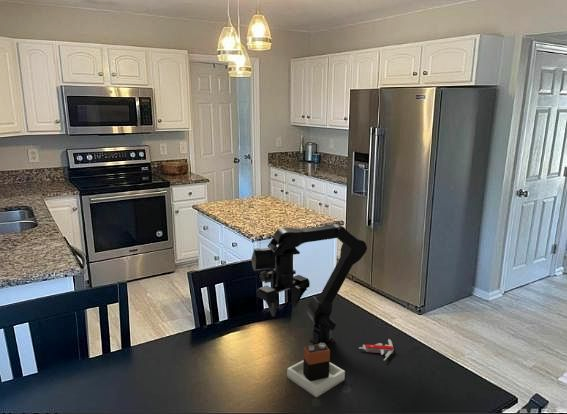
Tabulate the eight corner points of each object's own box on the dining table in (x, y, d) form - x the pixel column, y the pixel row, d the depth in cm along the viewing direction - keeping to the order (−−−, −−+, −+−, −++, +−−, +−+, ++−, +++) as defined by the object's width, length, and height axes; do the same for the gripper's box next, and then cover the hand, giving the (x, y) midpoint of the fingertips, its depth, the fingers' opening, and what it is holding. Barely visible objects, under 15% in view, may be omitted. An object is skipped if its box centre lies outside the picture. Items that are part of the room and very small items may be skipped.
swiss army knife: (360, 362, 132) (360, 356, 132) (357, 339, 146) (357, 334, 145) (396, 365, 131) (397, 359, 131) (390, 342, 145) (391, 336, 144)
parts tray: (315, 362, 132) (315, 353, 131) (344, 379, 123) (344, 370, 122) (287, 377, 124) (287, 368, 123) (316, 397, 115) (316, 387, 115)
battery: (329, 377, 123) (330, 347, 120) (308, 382, 120) (309, 351, 118) (323, 369, 127) (324, 339, 124) (302, 373, 124) (303, 343, 122)
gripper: (288, 254, 146) (287, 296, 149) (245, 266, 133) (246, 311, 137) (311, 263, 138) (310, 306, 141) (268, 277, 125) (267, 324, 129)
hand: (283, 311), depth 137 cm, fingers open, 9 cm apart
